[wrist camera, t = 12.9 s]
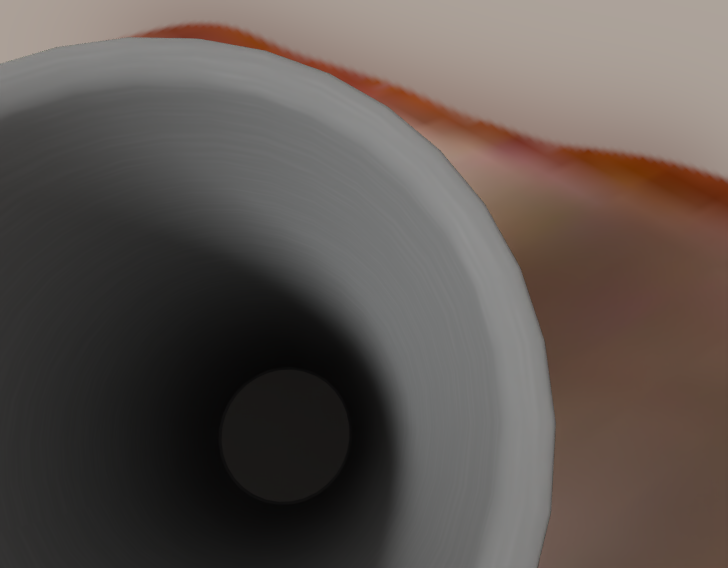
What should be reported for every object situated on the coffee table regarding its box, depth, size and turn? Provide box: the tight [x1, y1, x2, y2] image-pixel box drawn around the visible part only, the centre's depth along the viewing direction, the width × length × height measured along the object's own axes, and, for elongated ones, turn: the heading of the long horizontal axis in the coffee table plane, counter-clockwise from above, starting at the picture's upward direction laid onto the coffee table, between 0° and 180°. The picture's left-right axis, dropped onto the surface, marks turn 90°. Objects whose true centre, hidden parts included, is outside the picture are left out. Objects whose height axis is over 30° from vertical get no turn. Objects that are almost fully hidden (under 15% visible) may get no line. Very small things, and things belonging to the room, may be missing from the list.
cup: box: [0, 37, 556, 568], centre depth 11 cm, size 7×7×15 cm
